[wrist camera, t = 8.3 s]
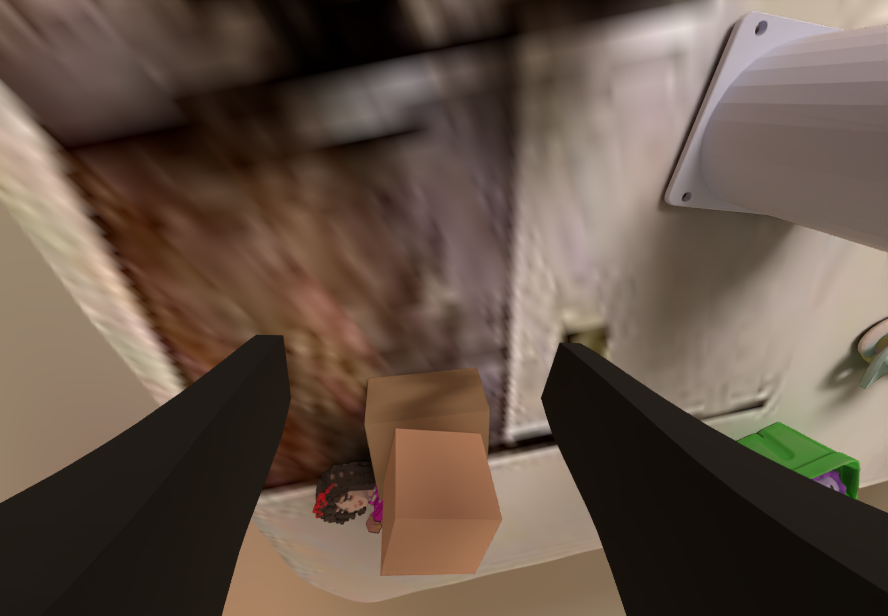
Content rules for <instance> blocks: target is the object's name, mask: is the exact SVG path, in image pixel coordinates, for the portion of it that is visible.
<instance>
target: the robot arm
mask: <svg viewBox="0 0 888 616" xmlns="http://www.w3.org/2000/svg"><path fill="white" fill-rule="evenodd" d="M758 23H759V31H758V32H757V34H755V29H756V26H757V25H758ZM685 193H686V196H685V198H684V199H682V196H683V195H684V194H685ZM664 198H665V202H666V203H668V204H670V205H673V206H682V207H692V208H702V209H712V210H722V211H732V212H742V213H752V214H763V215H769V216H773V217H776V218H779V219H782V220H785V221H789V222H792V223H795V224H798V225H801V226H805V227H808V228H811V229H814V230H817V231H821V232H824V233H827V234H830V235H833V236H837V237H840V238H843V239H846V240H850V241H853V242H856V243H859V244H862V245H866V246H869V247H872V248H875V249H878V250H882V251H885V252H888V24H885V25H878V26H872V27H865V28H858V29H851V30H844V29H839V28H834V27H829V26H825V25H820V24H815V23H810V22H806V21H801V20H796V19H791V18H786V17H782V16H777V15H772V14H767V13H762V12H758V11H754V12H749V13H746V14H744V15H742V16H741V17H740V18H739V19H738V20H737V22H736V23H735V25H734V28H733V30H732V32H731V35H730V37H729V40H728V42H727V45H726V47H725V49H724V52H723V54H722V57H721V59H720V62H719V64H718V67H717V69H716V71H715V74H714V76H713V79H712V81H711V84H710V86H709V88H708V91H707V93H706V96H705V98H704V101H703V103H702V105H701V108H700V110H699V113H698V115H697V118H696V120H695V123H694V125H693V127H692V130H691V132H690V135H689V137H688V140H687V142H686V144H685V147H684V149H683V152H682V154H681V157H680V159H679V161H678V164H677V166H676V169H675V171H674V174H673V176H672V179H671V181H670V183H669V186H668V188H667V191H666V193H665V197H664ZM290 400H291V395H290V387H289V379H288V370H287V362H286V354H285V346H284V338H283V335H255V336H254V337H253V338H251V339H250V340H249V341H247V342H246V343H245V344H243V345H242V346H241V347H240V348H238V349H237V350H236V351H235V352H233V353H232V354H231V355H229V356H228V357H227V358H226V359H224V360H223V361H222V362H221V363H219V364H218V365H217V366H215V367H214V368H213V369H211V370H210V371H209V372H208V373H206V374H205V375H204V376H202V377H201V378H200V379H198V380H197V381H196V382H194V383H193V384H192V385H190V386H189V387H188V388H186V389H185V390H184V391H182V392H181V393H179V394H178V395H177V396H175V397H174V398H172V399H171V400H169V401H168V402H167V403H165V404H164V405H162V406H161V407H159V408H158V409H156V410H155V411H154V412H152V413H151V414H149V415H148V416H146V417H145V418H144V419H142V420H141V421H139V422H138V423H137V424H135V425H133V426H132V427H130V428H129V429H127V430H126V431H124V432H123V433H121V434H120V435H118V436H116V437H115V438H113V439H112V440H110V441H108V442H107V443H105V444H104V445H102V446H100V447H99V448H97V449H95V450H94V451H92V452H90V453H89V454H87V455H85V456H84V457H82V458H81V459H79V460H77V461H75V462H74V463H72V464H70V465H69V466H67V467H65V468H63V469H62V470H60V471H58V472H57V473H55V474H53V475H52V476H50V477H48V478H46V479H44V480H42V481H40V482H38V483H37V484H35V485H33V486H31V487H29V488H27V489H26V490H24V491H22V492H20V493H18V494H16V495H14V496H13V497H11V498H9V499H7V500H5V501H4V502H2V503H0V616H222V612H223V608H224V605H225V601H226V597H227V594H228V591H229V587H230V583H231V580H232V576H233V573H234V569H235V565H236V562H237V558H238V555H239V551H240V548H241V545H242V542H243V539H244V536H245V533H246V530H247V528H248V525H249V522H250V520H251V517H252V515H253V512H254V509H255V507H256V504H257V501H258V499H259V496H260V493H261V491H262V488H263V486H264V483H265V480H266V478H267V475H268V472H269V470H270V467H271V464H272V462H273V459H274V456H275V454H276V451H277V448H278V446H279V443H280V440H281V437H282V434H283V430H284V426H285V422H286V418H287V413H288V409H289V405H290ZM541 400H542V403H543V407H544V410H545V413H546V417H547V420H548V423H549V426H550V429H551V432H552V434H553V436H554V438H555V441H556V443H557V445H558V447H559V449H560V451H561V454H562V456H563V458H564V460H565V462H566V464H567V466H568V468H569V471H570V473H571V475H572V477H573V479H574V481H575V483H576V485H577V488H578V490H579V492H580V494H581V496H582V498H583V500H584V502H585V504H586V507H587V509H588V511H589V513H590V515H591V518H592V520H593V523H594V525H595V527H596V530H597V532H598V535H599V538H600V540H601V543H602V546H603V549H604V551H605V554H606V557H607V560H608V562H609V565H610V568H611V571H612V574H613V577H614V580H615V583H616V586H617V589H618V591H619V595H620V597H621V601H622V604H623V607H624V610H625V612H626V616H888V513H887V512H884V511H882V510H880V509H877V508H875V507H873V506H870V505H868V504H865V503H863V502H860V501H858V500H856V499H854V498H851V497H849V496H847V495H845V494H843V493H840V492H838V491H836V490H834V489H831V488H829V487H827V486H825V485H822V484H820V483H818V482H816V481H814V480H812V479H810V478H808V477H806V476H804V475H801V474H799V473H797V472H795V471H793V470H791V469H789V468H787V467H785V466H783V465H781V464H779V463H777V462H775V461H773V460H771V459H769V458H767V457H765V456H763V455H761V454H759V453H757V452H755V451H753V450H751V449H749V448H748V447H746V446H744V445H742V444H740V443H738V442H737V441H735V440H733V439H731V438H729V437H727V436H726V435H724V434H722V433H720V432H718V431H717V430H715V429H713V428H711V427H710V426H708V425H706V424H705V423H703V422H701V421H700V420H698V419H696V418H695V417H693V416H691V415H690V414H688V413H687V412H685V411H683V410H682V409H680V408H678V407H677V406H675V405H674V404H672V403H671V402H669V401H667V400H666V399H664V398H663V397H661V396H660V395H658V394H657V393H655V392H654V391H652V390H651V389H649V388H648V387H646V386H645V385H643V384H642V383H640V382H639V381H637V380H636V379H634V378H633V377H631V376H630V375H628V374H627V373H625V372H624V371H623V370H621V369H620V368H618V367H617V366H615V365H614V364H612V363H611V362H609V361H608V360H606V359H605V358H603V357H602V356H600V355H599V354H597V353H596V352H594V351H593V350H591V349H589V348H588V347H586V346H584V345H582V344H580V343H559V346H558V349H557V352H556V355H555V358H554V361H553V364H552V367H551V370H550V373H549V376H548V379H547V382H546V385H545V388H544V391H543V394H542V397H541Z"/></svg>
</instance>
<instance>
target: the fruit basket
mask: <svg viewBox="0 0 888 616" xmlns="http://www.w3.org/2000/svg"><path fill="white" fill-rule="evenodd" d="M737 442H738V443H740V444H742V445H744V446H746V447H748V448H749V449H751V450H753V451H755V452H757V453H759V454H761V455H763V456H765V457H767V458H769V459H771V460H773V461H775V462H777V463H779V464H781V465H783V466H785V467H787V468H789V469H791V470H793V471H795V472H797V473H799V474H801V475H804V476H806V477H808V478H810V479H812V480H814V481H816V482H818V483H820V484H822V485H825V486H827V487H829V488H831V489H834V490H836V491H838V492H840V493H843V494H845V495H847V496H849V497H851V498H854V499H857V497H858V494H857V491H858V489H859V479H860V478H859V474H860V463H859V461H858V460H856V459H854V458H852V457H849V456H847V455H845V454H843V453H840V452H836V451H834V450H832V449H830V448H828V447H826V446H824V445H822V444H820V443H819V442H817V441H815V440H813V439H811V438H809V437H807V436H805V435H803V434H801V433H799V432H798V431H796V430H794V429H792V428H790V427H788V426H786V425H784V424H782V423H780V422H777V423H775V424H773V425H771V426H768V427H766V428H764V429H762V430H761V431H759V432H758V433H757V434H756V433H755V434H752V435H749V436H747V437H745V438H743V439H740V440H738V441H737Z"/></svg>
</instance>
